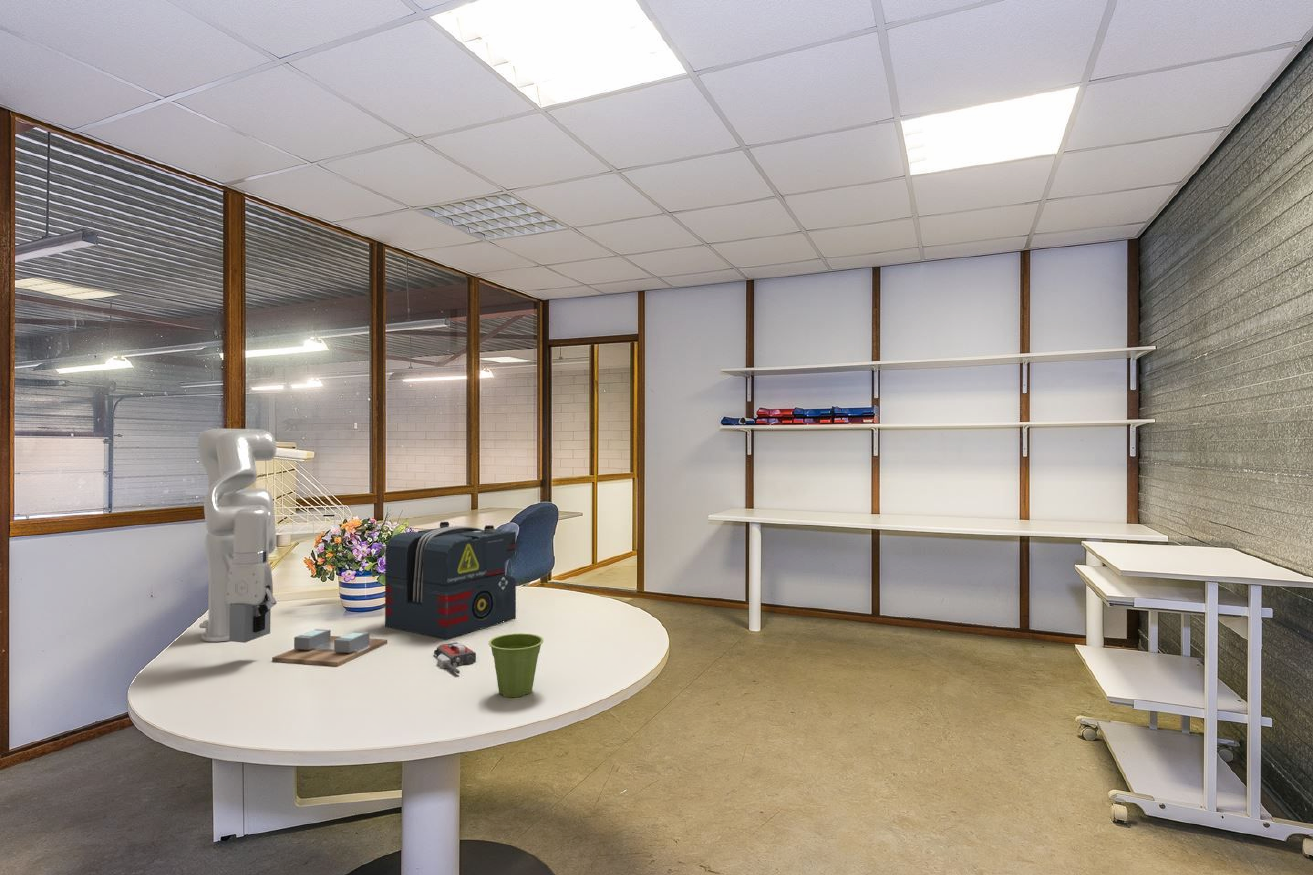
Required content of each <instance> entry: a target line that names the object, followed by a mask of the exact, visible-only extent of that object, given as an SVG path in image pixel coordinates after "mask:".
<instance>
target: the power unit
mask: <svg viewBox="0 0 1313 875" xmlns="http://www.w3.org/2000/svg"><path fill="white" fill-rule="evenodd" d="M516 543H517V532H516V531H515V530H502V529H499V528H498V529H496V528H495V527H494V525H493V524H487V525H485V526H484V529H482V528H479V527H475V526H474V527H473V526H468V525H467V526H463V525H453V526H450V523H449V521H440V523H439V527H438V528H429V529H424V530H417V531H408V532H407V531H406V532H401V533H397V534H394V535H393V536H392V537H390V539H388V541H387V543H386V545H385V551H384V560H385V561H384V566H385V568H384V570H385V571H384V574H385V575H384V576H385V578H384V579H385V580H384V584H385V585H384V626H385V627H387V628H391V629H395V630H401V631H405V632H410V633H415V634H418V635H425V636H428V637H433V638H438V639H442V640H450V639H453V638H457V637H459V636H463V635H466V634H469V633H473V632H476V631H480V630H483V629H486V628H489V627H492V625H493V626H495V625H494V624H496V625H498V624H497V623H499V624H501V623H500V622H502V623H504V622H503V621H505V622H508V620H509V621H511V619H512V620H515V619H516V618H517V614H516V613H517V587H516V586H517V579H516V577H514V576H511V575H507V574H506V562H507V561H509V560H510V559H512V558H513V557H515V556H516V553H517V544H516ZM514 618H515V619H514Z"/></svg>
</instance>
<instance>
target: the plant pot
mask: <svg viewBox="0 0 1313 875" xmlns="http://www.w3.org/2000/svg"><path fill="white" fill-rule="evenodd" d="M543 643H544V638H543V637H542V636H540V635H537V634H532V633H525V632H524V633H522V632H521V633H507V634H502V635H498V636H495V637H493V638H491V639H490V640H488V645H489V647H491V648H490V649H491V654H492V657H493V662H494V668H495V673H496V674H495V675H496V680H497V681H496V682H497V688H498V693H499V694H500V695H502V696H504V697H507V698H519V697H522V696H524V695H529V694H530V693H532V692H533V688H534V683H535V682H534V680H535V676H536V670H537V663H538V657H539V655H540V653H541V652H540V651H541V646H542V644H543Z"/></svg>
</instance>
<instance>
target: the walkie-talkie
mask: <svg viewBox="0 0 1313 875" xmlns="http://www.w3.org/2000/svg"><path fill="white" fill-rule="evenodd" d="M433 654H434V655H436V657H437V659H436V660H437V664H436V665H437V666H439V667H440V668H441V669H448V670H450V671H451V672H454V673H455V674H460V670H459V669H458V668H456V667H458V666H463V665H464V666H465V665H471V664H474V663H476V661H477V660H476V659H477V653H476V651H473V649H470V648H469V647H467V646H466V645H464V644H463V643H461V642H457V641H451V642H448V643H444V644H439V645H438V646H437V647H436V649H435V650H434V651H433ZM473 662H474V663H473Z"/></svg>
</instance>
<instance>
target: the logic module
mask: <svg viewBox="0 0 1313 875" xmlns="http://www.w3.org/2000/svg"><path fill="white" fill-rule="evenodd" d="M266 604H267V602H266ZM260 609H261V605H260ZM271 609H272V608H271ZM271 609H270V610H269V611H268V613H267V614H265V629H264V630H262V631H259V632H256V633H254V632H253V617H254V616H256V615H255V611H254V606H253V605H246V604H231V605H230V631H229V641H228V642H234V643H242V644H243V643H248V642H250V641H253V640H255V639H259V638H262V637H264V636H267V635H269V634H271V612H272V610H271Z"/></svg>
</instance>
